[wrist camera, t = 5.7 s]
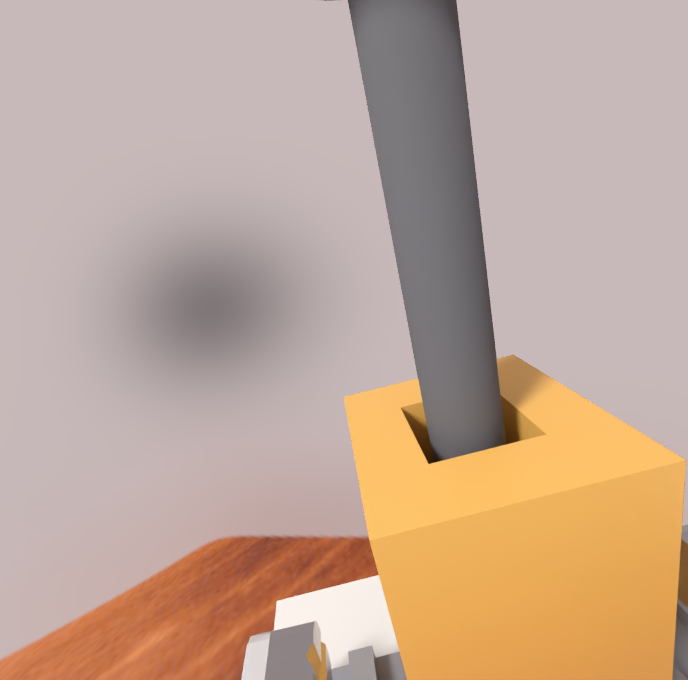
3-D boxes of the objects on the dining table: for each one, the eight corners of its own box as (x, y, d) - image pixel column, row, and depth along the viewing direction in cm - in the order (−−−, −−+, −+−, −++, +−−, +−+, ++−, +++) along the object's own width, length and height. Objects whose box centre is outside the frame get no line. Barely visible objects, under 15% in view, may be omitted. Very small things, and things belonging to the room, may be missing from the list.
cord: (536, 633, 13) (431, -401, 6) (639, 819, 9) (716, -1946, 2) (420, 663, 13) (171, -342, 6) (470, 864, 9) (-183, -1762, 2)
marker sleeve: (533, 563, 13) (513, 354, 10) (667, 763, 8) (686, 460, 6) (395, 598, 13) (343, 396, 10) (445, 821, 8) (369, 540, 5)
